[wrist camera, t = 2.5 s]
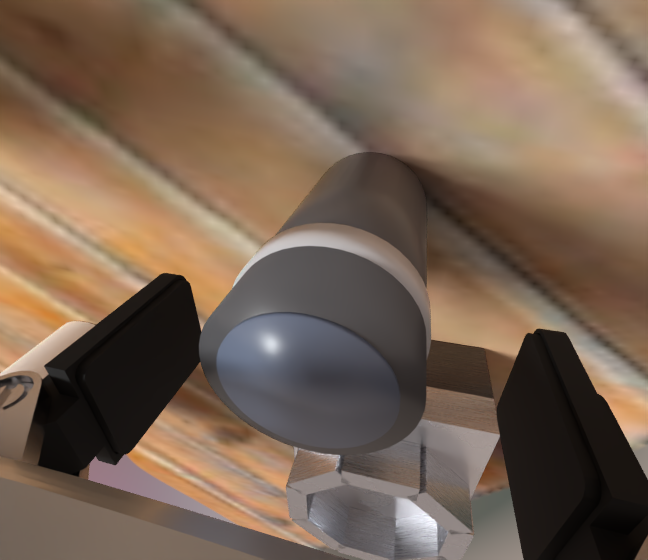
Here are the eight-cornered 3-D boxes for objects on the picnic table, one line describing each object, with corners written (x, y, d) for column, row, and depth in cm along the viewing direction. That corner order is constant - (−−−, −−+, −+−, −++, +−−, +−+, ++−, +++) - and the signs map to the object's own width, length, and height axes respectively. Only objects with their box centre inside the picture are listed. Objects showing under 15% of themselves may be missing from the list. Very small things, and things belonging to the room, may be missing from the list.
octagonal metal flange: (316, 322, 20) (273, 431, 14) (484, 348, 18) (510, 485, 13) (319, 443, 27) (290, 550, 21) (442, 471, 25) (446, 596, 19)
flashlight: (310, 146, 15) (164, 271, 7) (439, 153, 14) (457, 313, 5) (313, 254, 18) (214, 436, 9) (419, 267, 17) (412, 483, 8)
